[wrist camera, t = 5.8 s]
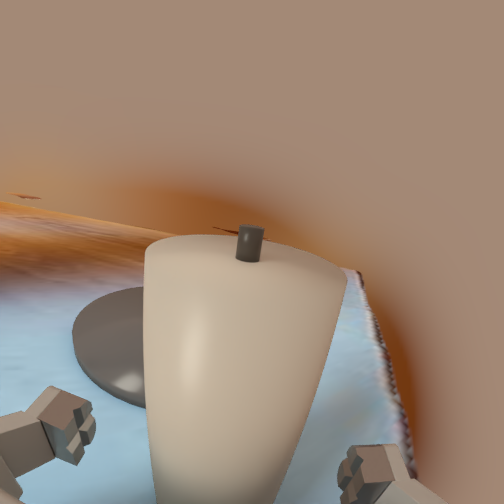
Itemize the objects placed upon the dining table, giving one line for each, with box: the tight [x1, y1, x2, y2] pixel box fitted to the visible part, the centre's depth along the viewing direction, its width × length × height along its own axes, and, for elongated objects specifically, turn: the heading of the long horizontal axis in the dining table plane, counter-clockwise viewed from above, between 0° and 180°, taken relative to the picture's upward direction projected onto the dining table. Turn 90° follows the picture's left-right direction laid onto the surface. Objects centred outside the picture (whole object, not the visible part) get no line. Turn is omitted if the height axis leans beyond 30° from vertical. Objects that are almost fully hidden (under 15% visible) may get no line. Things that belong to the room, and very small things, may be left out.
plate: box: [72, 287, 146, 409], centre depth 25 cm, size 18×18×1 cm
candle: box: [143, 225, 347, 504], centre depth 9 cm, size 5×5×13 cm
